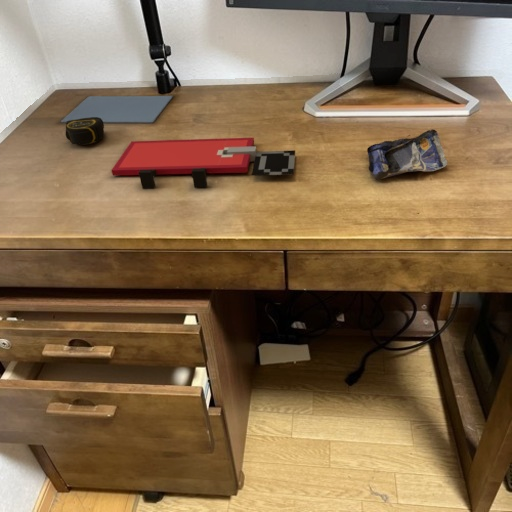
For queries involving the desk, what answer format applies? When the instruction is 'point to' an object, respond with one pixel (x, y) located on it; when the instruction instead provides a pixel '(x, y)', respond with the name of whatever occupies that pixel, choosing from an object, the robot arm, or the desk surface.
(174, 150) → the red board with handle
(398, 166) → the snack package
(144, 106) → the cloth
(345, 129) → the desk surface
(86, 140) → the tape measure
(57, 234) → the desk surface
